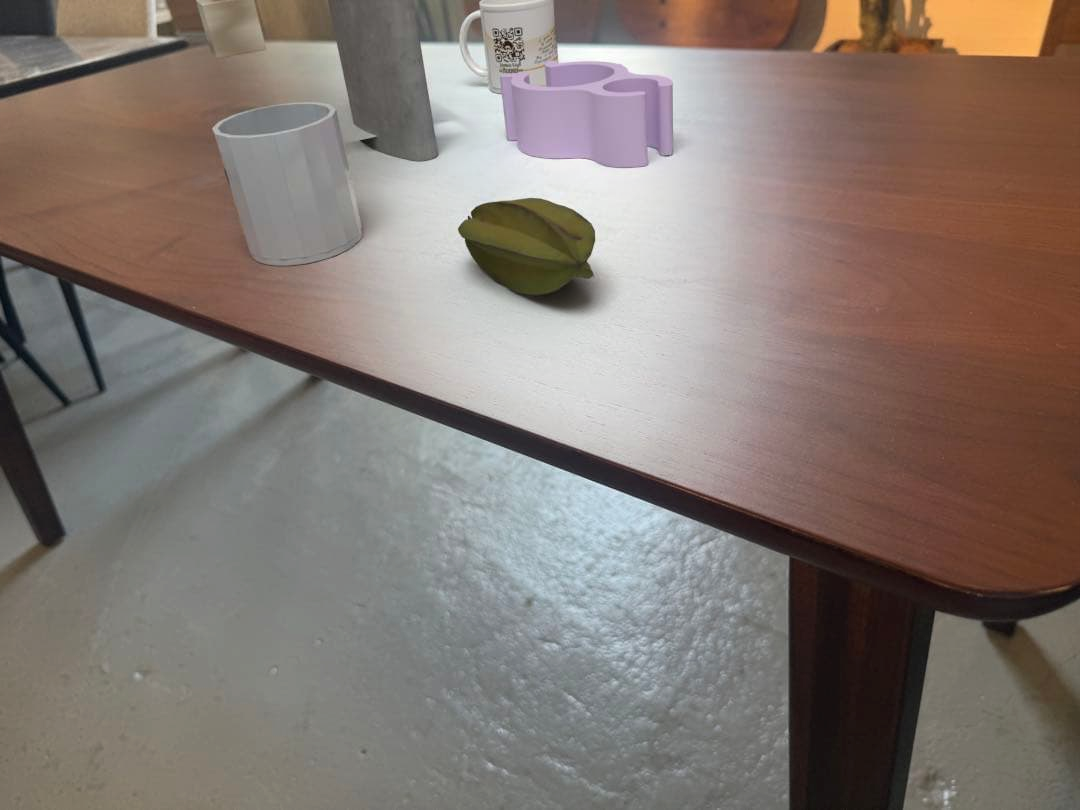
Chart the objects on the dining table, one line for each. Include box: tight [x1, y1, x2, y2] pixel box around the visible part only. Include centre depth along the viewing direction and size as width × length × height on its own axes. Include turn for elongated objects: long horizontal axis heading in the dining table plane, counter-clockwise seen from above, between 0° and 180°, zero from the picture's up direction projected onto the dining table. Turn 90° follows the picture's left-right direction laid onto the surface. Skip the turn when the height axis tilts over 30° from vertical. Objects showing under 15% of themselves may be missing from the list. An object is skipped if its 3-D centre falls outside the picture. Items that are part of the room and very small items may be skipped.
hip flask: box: [327, 0, 439, 162], centre depth 94 cm, size 16×4×20 cm, turn 38°
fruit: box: [457, 197, 596, 296], centre depth 64 cm, size 11×12×7 cm
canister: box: [211, 101, 363, 267], centre depth 74 cm, size 10×10×11 cm
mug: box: [458, 0, 559, 95], centre depth 116 cm, size 10×12×11 cm
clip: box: [500, 60, 674, 168], centre depth 92 cm, size 20×12×7 cm, turn 41°
